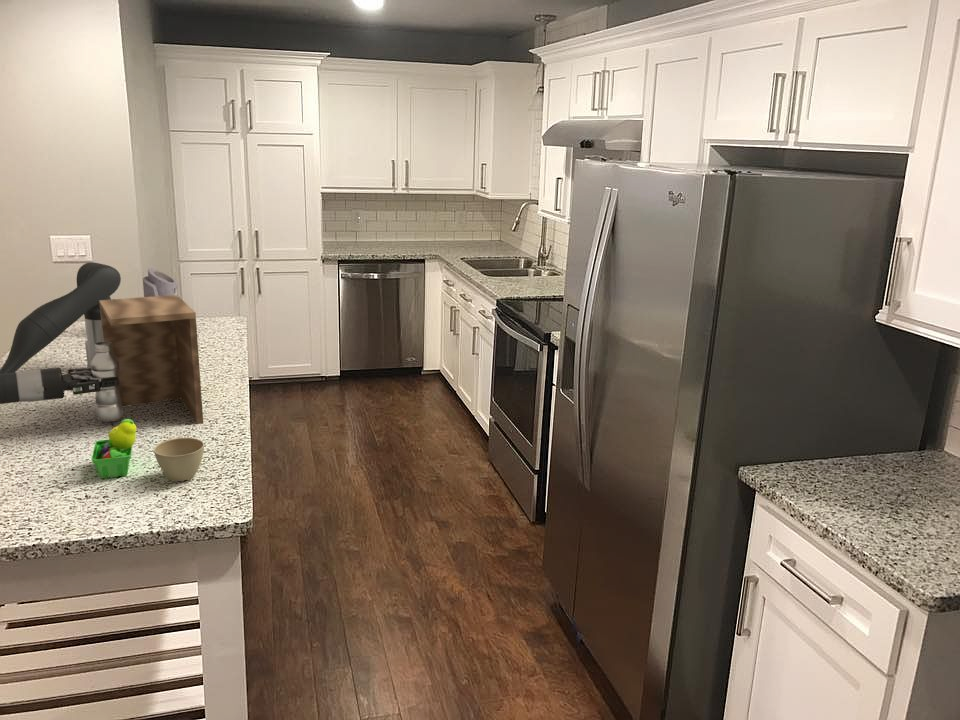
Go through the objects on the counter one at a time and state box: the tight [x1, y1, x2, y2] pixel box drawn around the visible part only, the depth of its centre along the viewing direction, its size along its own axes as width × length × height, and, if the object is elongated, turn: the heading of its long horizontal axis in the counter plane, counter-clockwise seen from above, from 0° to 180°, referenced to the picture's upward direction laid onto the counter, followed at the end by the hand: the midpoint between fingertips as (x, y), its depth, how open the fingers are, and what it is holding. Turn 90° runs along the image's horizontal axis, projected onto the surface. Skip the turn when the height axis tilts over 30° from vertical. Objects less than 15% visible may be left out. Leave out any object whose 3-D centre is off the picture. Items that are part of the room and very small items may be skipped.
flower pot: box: [153, 437, 205, 482], centre depth 163 cm, size 10×10×7 cm
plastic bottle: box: [90, 342, 125, 422], centre depth 189 cm, size 6×7×20 cm
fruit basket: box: [91, 418, 137, 479], centre depth 165 cm, size 11×9×11 cm
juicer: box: [142, 268, 179, 297], centre depth 270 cm, size 30×16×24 cm, turn 97°
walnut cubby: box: [99, 294, 204, 425], centre depth 195 cm, size 19×23×29 cm
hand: (116, 377), depth 190 cm, fingers closed on plastic bottle, 6 cm apart
